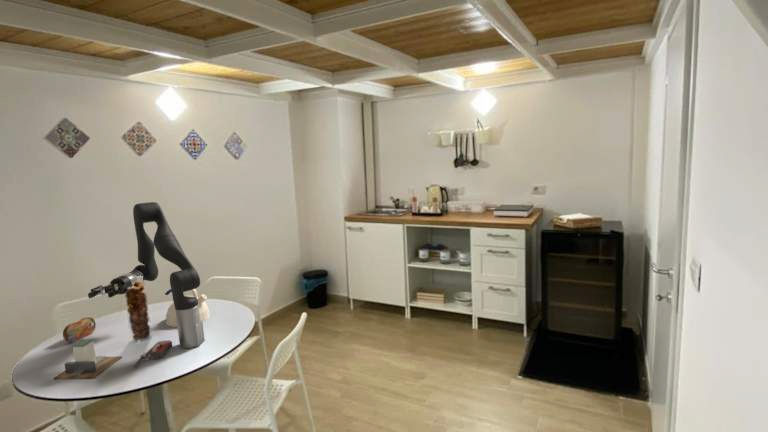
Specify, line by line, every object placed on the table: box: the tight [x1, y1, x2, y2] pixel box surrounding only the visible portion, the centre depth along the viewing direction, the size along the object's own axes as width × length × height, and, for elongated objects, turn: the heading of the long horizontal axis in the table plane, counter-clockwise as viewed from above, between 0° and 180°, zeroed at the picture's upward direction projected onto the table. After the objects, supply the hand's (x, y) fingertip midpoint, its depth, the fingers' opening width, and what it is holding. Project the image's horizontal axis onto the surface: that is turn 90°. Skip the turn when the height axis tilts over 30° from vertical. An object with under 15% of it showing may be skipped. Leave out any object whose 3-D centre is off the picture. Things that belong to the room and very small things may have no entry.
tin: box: [62, 316, 97, 343], centre depth 197 cm, size 15×3×8 cm, turn 168°
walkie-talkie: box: [132, 340, 173, 368], centre depth 175 cm, size 9×4×20 cm
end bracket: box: [64, 361, 96, 374], centre depth 163 cm, size 11×2×4 cm, turn 88°
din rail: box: [71, 355, 107, 376], centre depth 168 cm, size 4×14×1 cm, turn 177°
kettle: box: [164, 288, 211, 328], centre depth 213 cm, size 20×21×18 cm
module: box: [72, 338, 97, 363], centre depth 166 cm, size 4×5×10 cm
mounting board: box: [53, 355, 123, 380], centre depth 168 cm, size 16×16×1 cm
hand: (99, 295), depth 175 cm, fingers open, 8 cm apart
